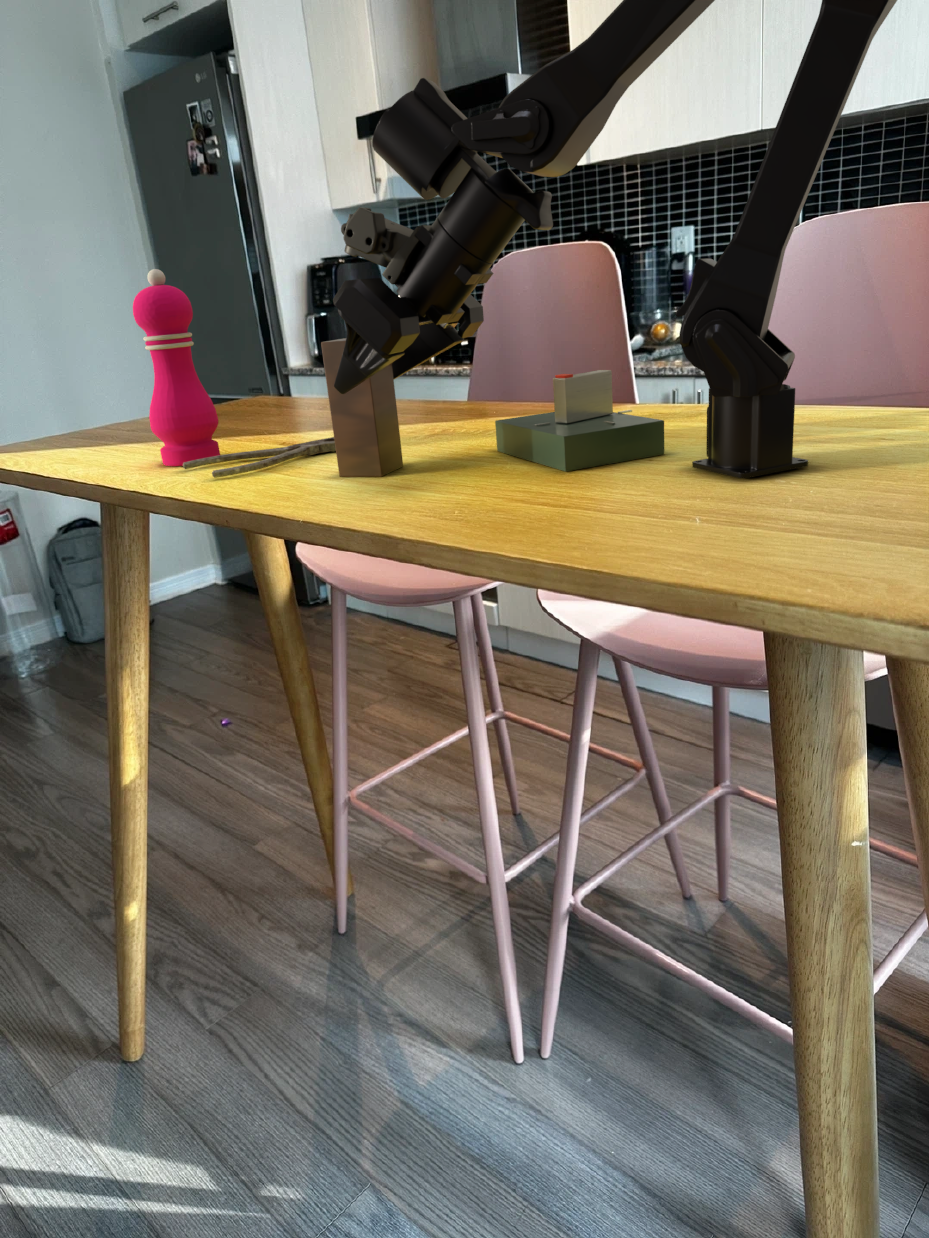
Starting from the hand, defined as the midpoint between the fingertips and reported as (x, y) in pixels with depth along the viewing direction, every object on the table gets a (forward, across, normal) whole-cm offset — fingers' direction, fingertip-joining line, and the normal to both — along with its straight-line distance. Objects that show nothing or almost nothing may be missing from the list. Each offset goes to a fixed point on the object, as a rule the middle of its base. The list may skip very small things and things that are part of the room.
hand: (363, 383), depth 80 cm
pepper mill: (+25, -6, -13) cm, 28 cm away
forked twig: (+17, -7, -5) cm, 19 cm away
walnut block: (+6, 0, +6) cm, 8 cm away
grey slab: (-9, -8, +16) cm, 21 cm away
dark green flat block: (-7, -8, +18) cm, 21 cm away
